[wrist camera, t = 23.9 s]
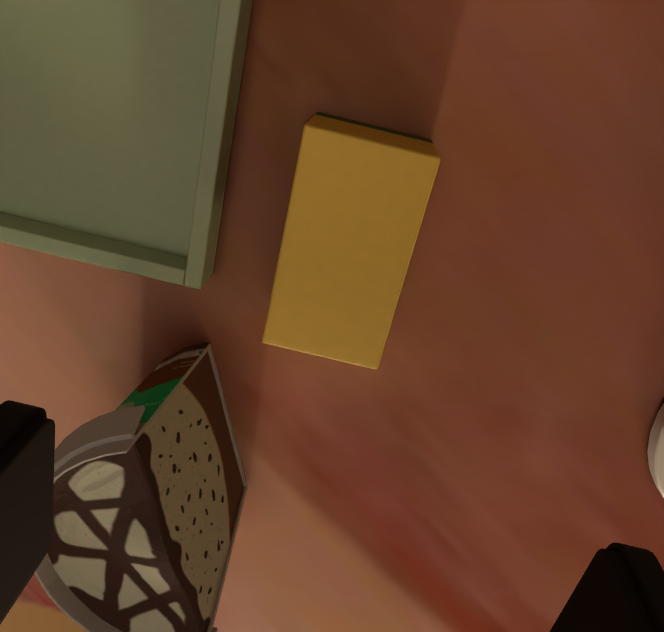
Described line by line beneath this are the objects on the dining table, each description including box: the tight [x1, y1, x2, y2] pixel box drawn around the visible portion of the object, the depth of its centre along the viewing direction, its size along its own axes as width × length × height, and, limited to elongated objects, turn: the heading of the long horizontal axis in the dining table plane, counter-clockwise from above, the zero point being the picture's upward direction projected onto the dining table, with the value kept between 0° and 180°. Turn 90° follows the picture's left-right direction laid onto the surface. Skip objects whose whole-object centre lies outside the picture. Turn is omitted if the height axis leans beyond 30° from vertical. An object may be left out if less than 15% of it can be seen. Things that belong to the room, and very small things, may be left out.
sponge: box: [262, 112, 441, 369], centre depth 24 cm, size 5×9×4 cm, turn 167°
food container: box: [35, 343, 248, 632], centre depth 27 cm, size 12×6×10 cm, turn 8°
